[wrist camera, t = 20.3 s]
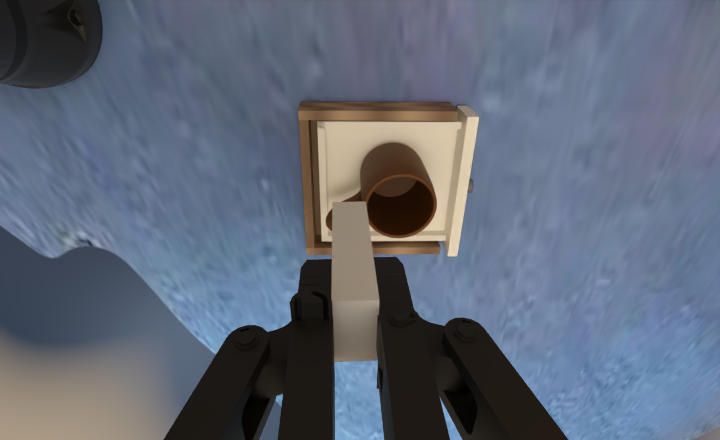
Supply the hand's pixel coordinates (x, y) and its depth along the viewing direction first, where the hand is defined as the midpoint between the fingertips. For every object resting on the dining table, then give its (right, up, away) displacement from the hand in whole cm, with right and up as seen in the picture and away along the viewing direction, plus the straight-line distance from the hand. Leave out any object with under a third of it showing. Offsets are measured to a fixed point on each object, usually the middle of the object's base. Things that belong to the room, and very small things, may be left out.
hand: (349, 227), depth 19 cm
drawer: (+5, +6, +32) cm, 33 cm away
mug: (+2, +6, +31) cm, 31 cm away
